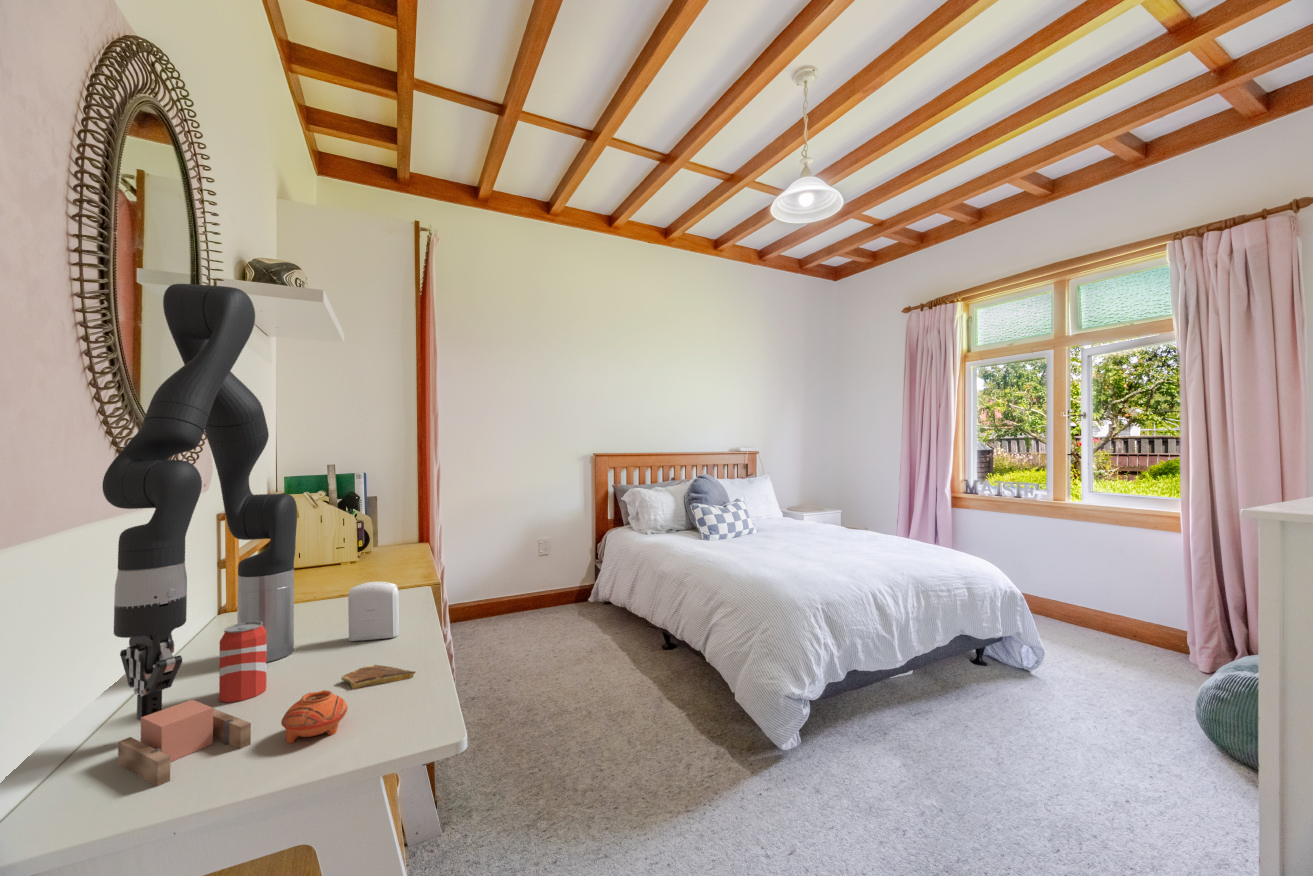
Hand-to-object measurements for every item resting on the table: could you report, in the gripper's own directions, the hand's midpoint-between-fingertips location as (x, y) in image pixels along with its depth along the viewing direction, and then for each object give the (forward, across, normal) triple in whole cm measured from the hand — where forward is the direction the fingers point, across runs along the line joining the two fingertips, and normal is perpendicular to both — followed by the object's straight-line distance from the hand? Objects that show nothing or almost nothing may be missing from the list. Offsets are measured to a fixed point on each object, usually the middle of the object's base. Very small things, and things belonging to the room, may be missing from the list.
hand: (149, 718), depth 74 cm
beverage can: (+3, -3, +13) cm, 14 cm away
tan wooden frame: (+3, +12, 0) cm, 12 cm away
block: (+3, +8, 0) cm, 8 cm away
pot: (+4, +21, +11) cm, 24 cm away
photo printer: (+3, -9, +41) cm, 42 cm away
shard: (+4, +11, +28) cm, 30 cm away
